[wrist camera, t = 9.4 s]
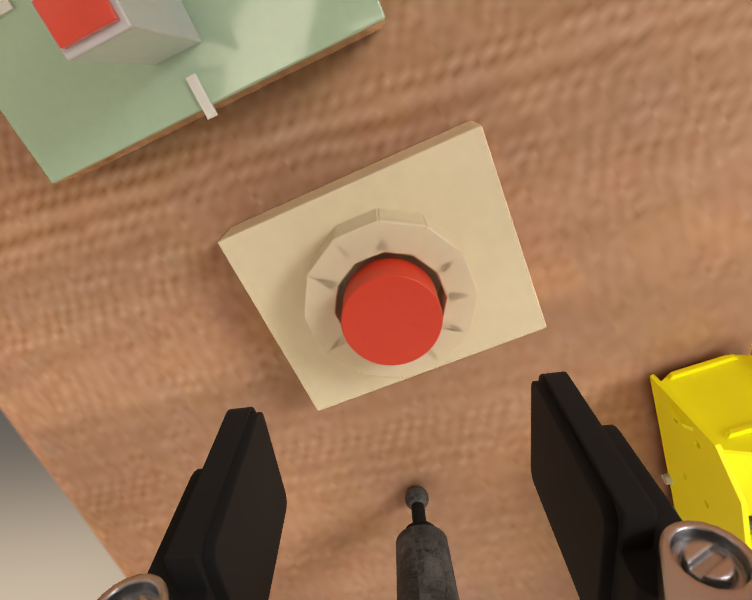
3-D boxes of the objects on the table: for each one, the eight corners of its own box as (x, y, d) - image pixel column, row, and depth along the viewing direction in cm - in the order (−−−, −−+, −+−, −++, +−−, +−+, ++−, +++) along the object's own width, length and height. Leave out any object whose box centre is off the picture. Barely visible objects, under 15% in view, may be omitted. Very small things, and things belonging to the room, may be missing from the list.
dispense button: (416, 243, 18) (421, 259, 16) (450, 323, 19) (457, 345, 18) (327, 279, 18) (323, 298, 17) (366, 354, 20) (366, 379, 18)
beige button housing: (470, 119, 19) (493, 129, 16) (532, 306, 23) (562, 349, 19) (231, 226, 21) (201, 257, 17) (322, 384, 25) (313, 437, 21)
